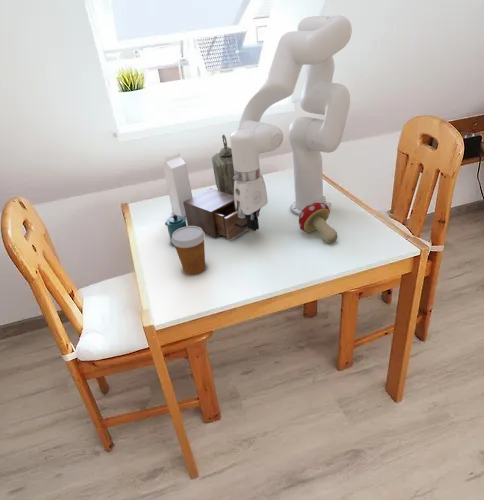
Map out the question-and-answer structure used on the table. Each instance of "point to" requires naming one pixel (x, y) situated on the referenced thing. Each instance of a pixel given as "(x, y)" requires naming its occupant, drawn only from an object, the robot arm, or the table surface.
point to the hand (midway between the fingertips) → (253, 228)
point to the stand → (206, 209)
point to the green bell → (224, 169)
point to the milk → (177, 183)
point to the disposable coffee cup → (190, 248)
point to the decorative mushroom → (317, 221)
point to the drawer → (229, 222)
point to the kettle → (175, 224)
